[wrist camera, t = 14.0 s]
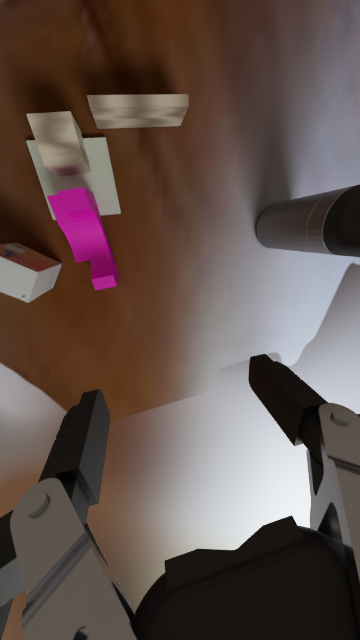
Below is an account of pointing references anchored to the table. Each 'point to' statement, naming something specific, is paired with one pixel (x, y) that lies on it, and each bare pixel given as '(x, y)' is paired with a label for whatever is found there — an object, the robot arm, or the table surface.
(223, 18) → the table surface
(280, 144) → the table surface
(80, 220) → the toy block
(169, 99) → the screen
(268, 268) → the table surface
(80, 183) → the pad
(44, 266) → the small box
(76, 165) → the birch cube
